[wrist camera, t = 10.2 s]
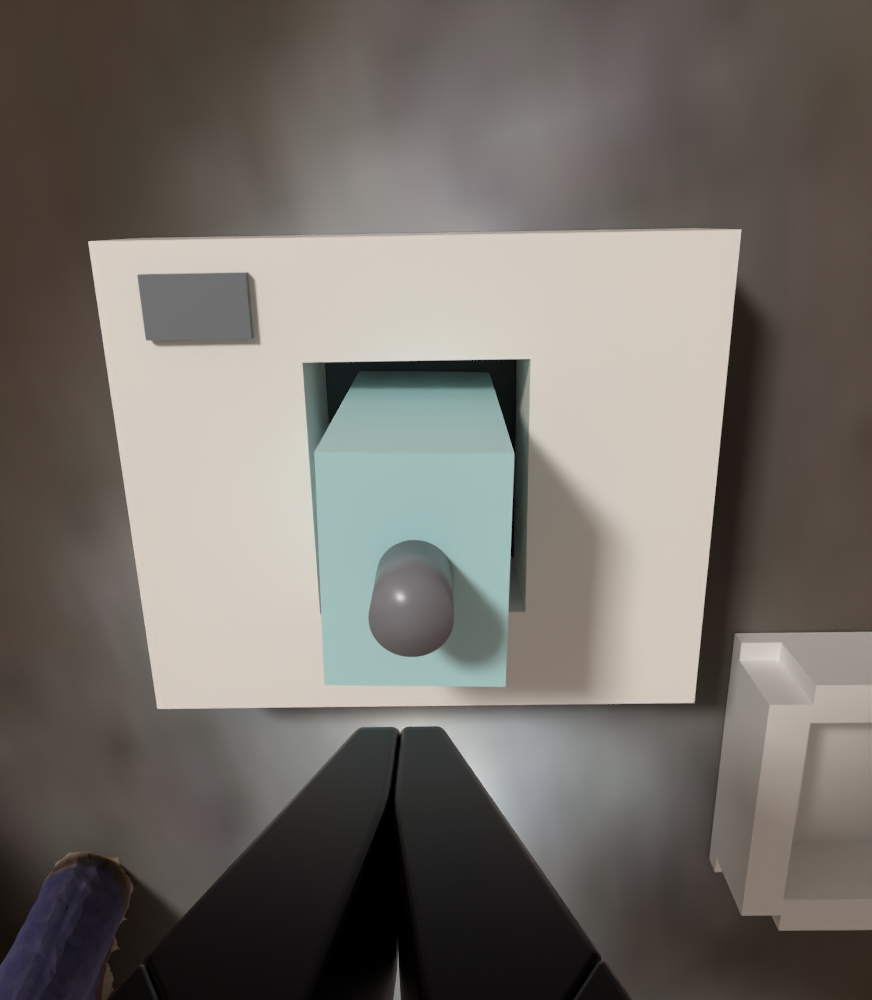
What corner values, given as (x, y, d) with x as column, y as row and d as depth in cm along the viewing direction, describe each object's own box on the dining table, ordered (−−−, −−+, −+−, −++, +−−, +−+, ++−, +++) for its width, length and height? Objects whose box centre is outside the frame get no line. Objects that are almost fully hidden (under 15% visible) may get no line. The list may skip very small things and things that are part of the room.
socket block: (693, 228, 18) (745, 229, 15) (660, 637, 21) (697, 708, 18) (144, 237, 18) (83, 241, 15) (195, 643, 21) (154, 714, 18)
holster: (978, 630, 21) (1046, 683, 18) (927, 856, 23) (983, 928, 21) (734, 633, 21) (772, 686, 19) (709, 858, 23) (739, 931, 21)
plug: (489, 371, 19) (523, 484, 11) (485, 533, 20) (512, 741, 12) (359, 371, 19) (297, 482, 11) (363, 532, 20) (310, 739, 12)
